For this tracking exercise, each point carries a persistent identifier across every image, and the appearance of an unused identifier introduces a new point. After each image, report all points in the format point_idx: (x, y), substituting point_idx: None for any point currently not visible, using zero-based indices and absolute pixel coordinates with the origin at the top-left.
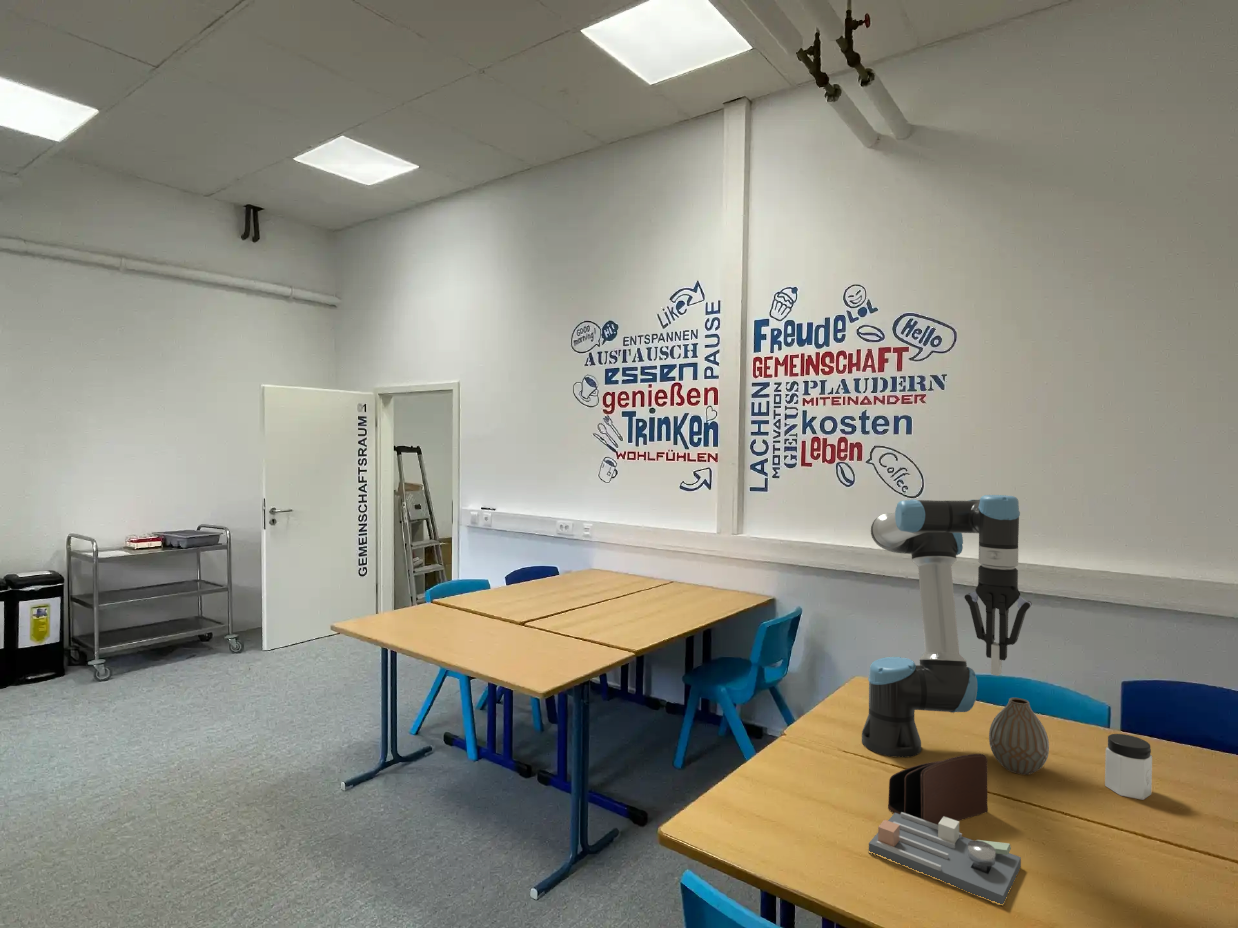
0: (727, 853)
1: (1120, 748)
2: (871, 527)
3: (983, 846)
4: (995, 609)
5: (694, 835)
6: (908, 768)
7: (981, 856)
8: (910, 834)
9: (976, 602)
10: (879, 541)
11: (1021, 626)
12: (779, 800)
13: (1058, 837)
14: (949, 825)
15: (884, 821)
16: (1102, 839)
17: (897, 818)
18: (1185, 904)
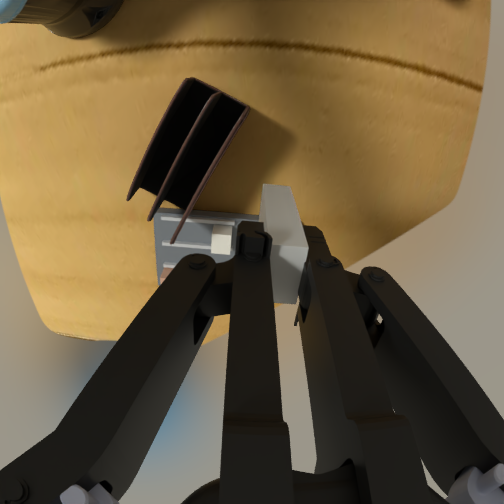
0: (86, 332)
1: None
2: None
3: None
4: (287, 426)
5: (57, 324)
6: (137, 172)
7: None
8: (184, 247)
9: (103, 475)
10: None
11: (441, 340)
12: (54, 242)
13: (337, 125)
14: (223, 250)
15: (161, 281)
16: (384, 102)
17: (160, 223)
18: (431, 197)
